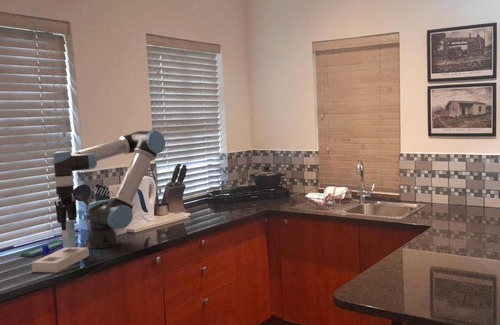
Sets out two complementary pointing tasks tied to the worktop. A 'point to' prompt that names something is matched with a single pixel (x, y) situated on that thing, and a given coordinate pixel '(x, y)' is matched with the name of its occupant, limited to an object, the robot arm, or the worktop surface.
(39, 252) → the rectangular tray
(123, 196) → the robot arm
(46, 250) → the blue angular bent piece
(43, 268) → the socket strip
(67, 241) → the plug
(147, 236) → the worktop surface
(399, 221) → the worktop surface
